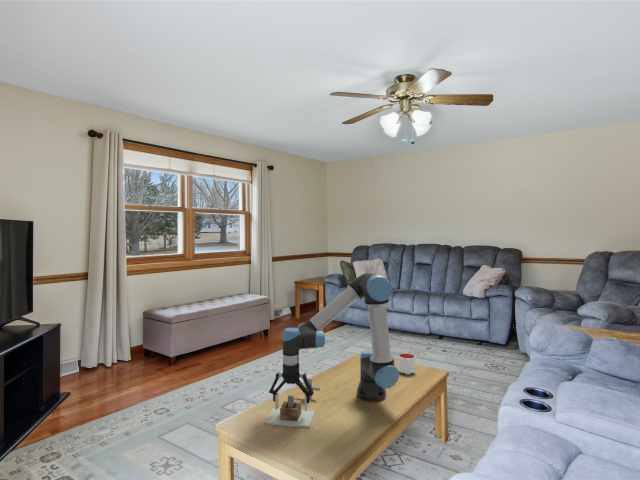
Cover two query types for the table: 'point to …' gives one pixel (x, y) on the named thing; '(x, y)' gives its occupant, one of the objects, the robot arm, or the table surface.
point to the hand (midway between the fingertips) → (291, 409)
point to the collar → (290, 411)
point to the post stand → (303, 421)
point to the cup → (406, 363)
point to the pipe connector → (312, 386)
